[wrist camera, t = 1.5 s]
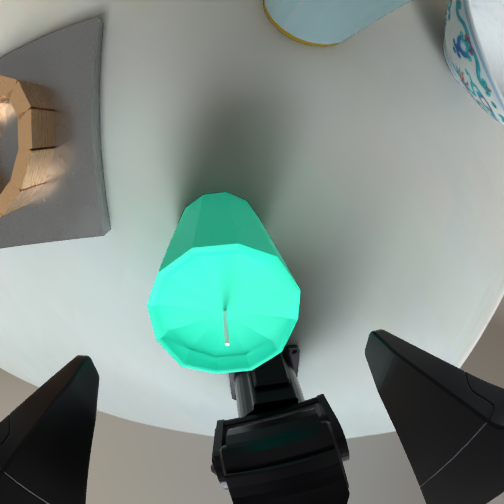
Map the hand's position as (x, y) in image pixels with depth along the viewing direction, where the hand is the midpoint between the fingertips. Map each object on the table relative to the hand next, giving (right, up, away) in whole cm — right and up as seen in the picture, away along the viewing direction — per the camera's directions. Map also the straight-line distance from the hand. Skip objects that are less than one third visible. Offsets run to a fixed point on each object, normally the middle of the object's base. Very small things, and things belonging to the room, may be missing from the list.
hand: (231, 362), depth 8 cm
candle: (-2, +5, +12) cm, 13 cm away
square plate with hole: (-18, +12, +7) cm, 22 cm away
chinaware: (+22, +22, +9) cm, 32 cm away
